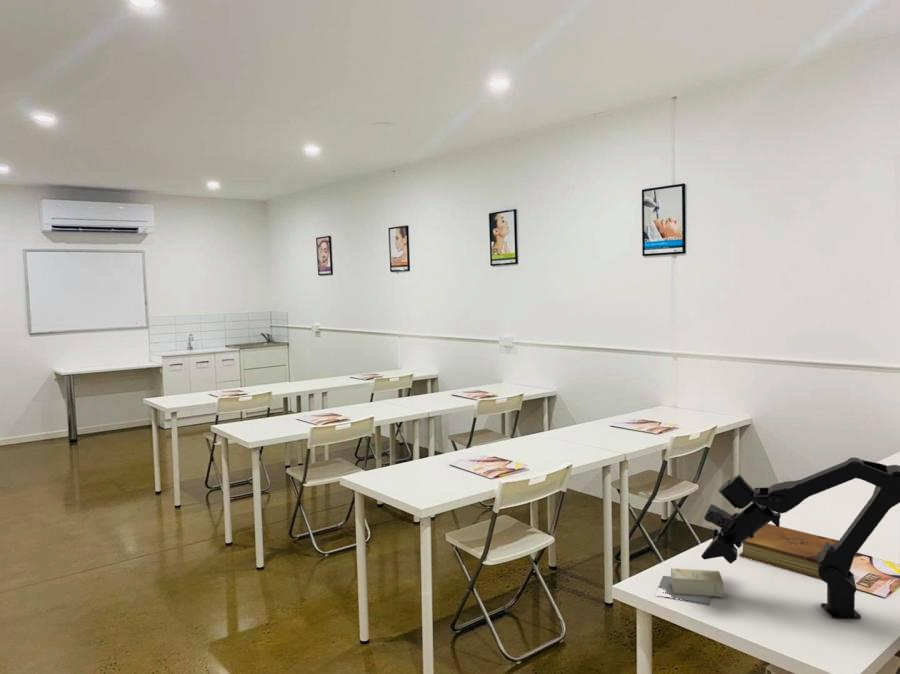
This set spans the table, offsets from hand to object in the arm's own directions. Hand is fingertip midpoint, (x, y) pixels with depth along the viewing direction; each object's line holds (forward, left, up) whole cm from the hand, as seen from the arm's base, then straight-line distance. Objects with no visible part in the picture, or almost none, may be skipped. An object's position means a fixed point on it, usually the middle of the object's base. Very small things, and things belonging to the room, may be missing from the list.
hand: (702, 557), depth 171 cm
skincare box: (-2, -4, -6) cm, 8 cm away
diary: (+21, -31, -9) cm, 38 cm away
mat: (-1, +5, -9) cm, 10 cm away
